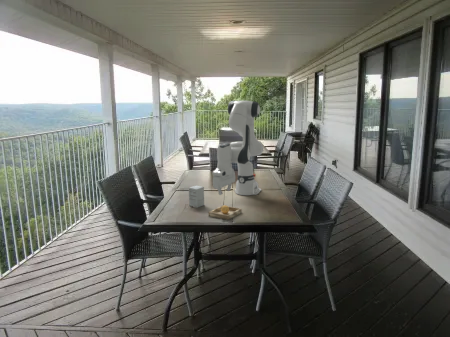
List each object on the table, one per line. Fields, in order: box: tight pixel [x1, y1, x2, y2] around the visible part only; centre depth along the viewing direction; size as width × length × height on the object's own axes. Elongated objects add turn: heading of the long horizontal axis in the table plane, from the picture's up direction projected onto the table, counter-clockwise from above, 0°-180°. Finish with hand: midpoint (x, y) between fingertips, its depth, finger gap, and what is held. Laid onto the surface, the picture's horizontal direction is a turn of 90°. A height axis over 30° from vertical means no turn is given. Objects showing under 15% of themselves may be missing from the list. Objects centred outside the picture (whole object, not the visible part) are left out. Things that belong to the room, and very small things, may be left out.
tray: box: [207, 204, 243, 221], centre depth 215 cm, size 16×14×2 cm
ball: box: [221, 204, 230, 214], centre depth 215 cm, size 5×5×5 cm
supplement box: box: [188, 185, 205, 208], centre depth 232 cm, size 7×7×13 cm
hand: (224, 192), depth 213 cm, fingers open, 8 cm apart
